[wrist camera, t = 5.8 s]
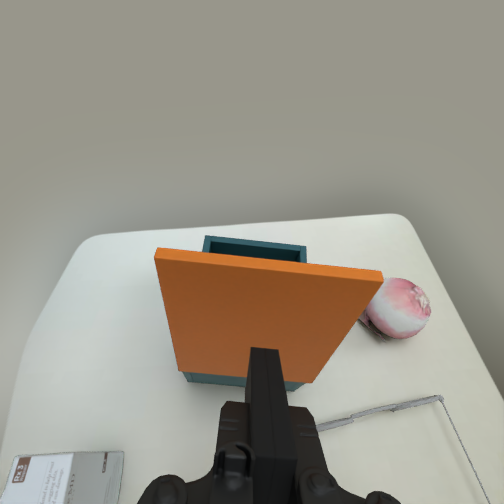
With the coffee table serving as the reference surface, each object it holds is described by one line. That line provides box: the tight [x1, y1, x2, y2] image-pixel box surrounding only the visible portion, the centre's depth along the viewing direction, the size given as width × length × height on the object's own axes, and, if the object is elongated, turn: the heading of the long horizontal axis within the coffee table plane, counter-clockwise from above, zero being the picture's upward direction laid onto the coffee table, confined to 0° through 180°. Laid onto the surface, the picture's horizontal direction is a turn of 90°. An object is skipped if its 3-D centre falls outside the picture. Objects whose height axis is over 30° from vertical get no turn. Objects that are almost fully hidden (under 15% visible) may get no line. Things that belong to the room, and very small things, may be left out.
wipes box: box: [182, 235, 307, 391], centre depth 36 cm, size 16×13×8 cm
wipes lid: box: [154, 248, 384, 383], centre depth 22 cm, size 16×13×1 cm
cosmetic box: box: [0, 451, 124, 504], centre depth 24 cm, size 6×4×12 cm
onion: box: [359, 278, 431, 340], centre depth 39 cm, size 8×8×7 cm
